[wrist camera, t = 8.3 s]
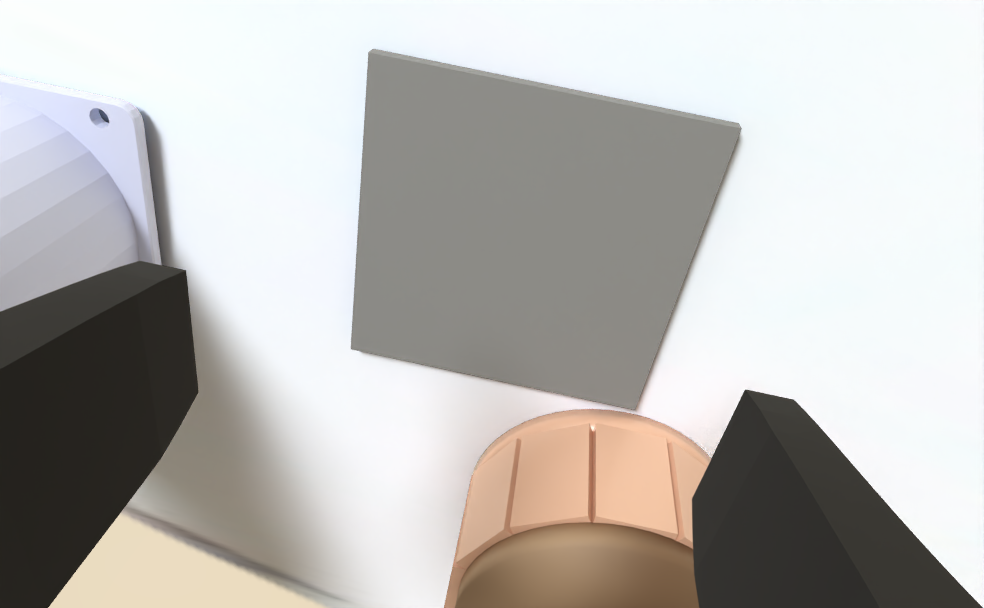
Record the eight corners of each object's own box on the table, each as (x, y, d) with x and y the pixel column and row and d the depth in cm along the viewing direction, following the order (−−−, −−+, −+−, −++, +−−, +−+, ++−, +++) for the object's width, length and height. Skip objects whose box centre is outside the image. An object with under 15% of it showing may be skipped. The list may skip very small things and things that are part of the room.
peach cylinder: (454, 557, 26) (430, 667, 23) (491, 383, 21) (469, 488, 18) (680, 606, 26) (693, 726, 22) (769, 443, 21) (806, 561, 18)
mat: (354, 341, 21) (350, 348, 21) (373, 48, 16) (368, 52, 16) (634, 401, 21) (635, 410, 21) (738, 123, 16) (741, 128, 16)
